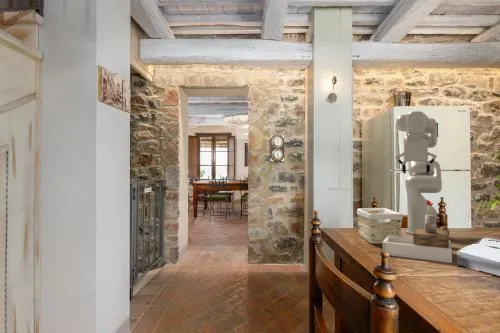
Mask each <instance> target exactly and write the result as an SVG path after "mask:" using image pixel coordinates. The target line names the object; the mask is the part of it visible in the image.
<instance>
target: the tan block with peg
mask: <svg viewBox="0 0 500 333" xmlns="http://www.w3.org/2000/svg"><path fill="white" fill-rule="evenodd" d="M412 235H413V236H412V238H413V239H414V245H421V246H431V247H441V248H448V243H449V241H450V240H449V237H450V236H449V237H448V231H440V229H438V230H437V224H436V215H425V229H415V231H414V233H413V234H412Z"/></svg>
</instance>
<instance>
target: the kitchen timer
mask: <svg viewBox="0 0 500 333" xmlns="http://www.w3.org/2000/svg"><path fill="white" fill-rule="evenodd" d="M426 201H427V215H436V217H437V215H439V212H438V211H437V210H436V209H435V207H433V204H434V203H433V202H432V201H430V199H426Z"/></svg>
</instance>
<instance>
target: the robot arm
mask: <svg viewBox="0 0 500 333" xmlns="http://www.w3.org/2000/svg"><path fill="white" fill-rule="evenodd" d="M395 122H396V124H395V125H396V127H397V130H398V131H400V132H406V136H404V138H403V152H402V153H400V154H399V155H397V156H395V159H396V160H397V162H398V163H399V164H400V165H401V172H402V173H403V174H405V175H406V173H407V170H408V175H409V176H407V177H406V179H405V181H404V182H405V183H404V185H405V190H406V196H407V198H406V200H407V201H406V202H407V228H405V230H404V232H405V233H406V234H410V235H413V233H414V231H415V229H425V215H427V201H426V200H427V199H426V198H425V196H424V195H423V194H438V193H440V192H441V191H442V188H443V182H442V170H441V165H440V162H438V161H437V160H436V159H437V156H438V155H436V154H434V153H431V152H429V151H428V149H432V148H435V147H436V146H437V144H438V123H437V120H436V119H435V118H431V117H430V118H429V116H428V115H427V114H426V113H424V112H423V111H420V110H417V111H414V110H413V111H409V112H408V113H407V114H400V115H398V116H397V118H396V120H395ZM429 156H430V157H431V160H428V159H429ZM402 157H403V161H402V160H401V158H402ZM407 163H408V165H407V166H408V168H407V166H406V164H407Z"/></svg>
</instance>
